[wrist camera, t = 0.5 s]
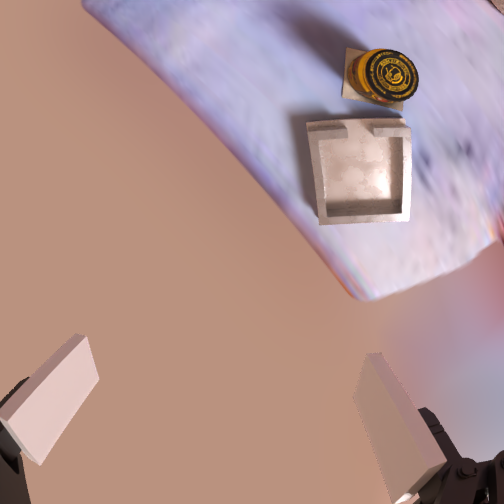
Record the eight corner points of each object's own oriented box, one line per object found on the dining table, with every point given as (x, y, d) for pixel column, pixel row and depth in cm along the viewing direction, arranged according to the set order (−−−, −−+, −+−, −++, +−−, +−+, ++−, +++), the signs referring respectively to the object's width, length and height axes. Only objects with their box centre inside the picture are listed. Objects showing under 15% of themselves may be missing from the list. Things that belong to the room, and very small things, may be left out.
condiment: (345, 47, 25) (361, 33, 16) (407, 62, 24) (445, 59, 15) (341, 97, 30) (355, 105, 20) (401, 111, 29) (436, 127, 19)
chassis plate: (306, 121, 33) (305, 125, 30) (402, 117, 29) (410, 121, 26) (319, 218, 41) (318, 230, 38) (403, 214, 37) (408, 225, 34)
